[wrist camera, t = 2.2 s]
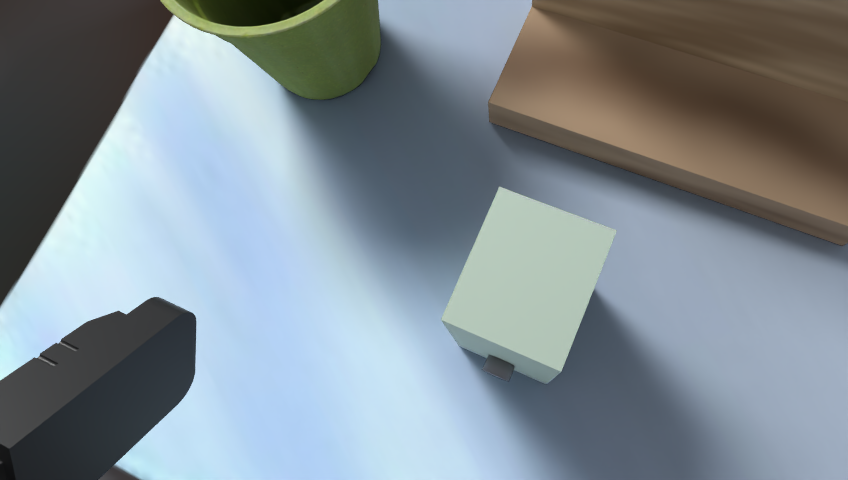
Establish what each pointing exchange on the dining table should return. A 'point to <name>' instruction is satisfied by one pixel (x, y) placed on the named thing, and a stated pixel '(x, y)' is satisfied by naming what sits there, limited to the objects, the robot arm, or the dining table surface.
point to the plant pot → (295, 38)
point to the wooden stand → (695, 98)
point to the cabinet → (526, 286)
